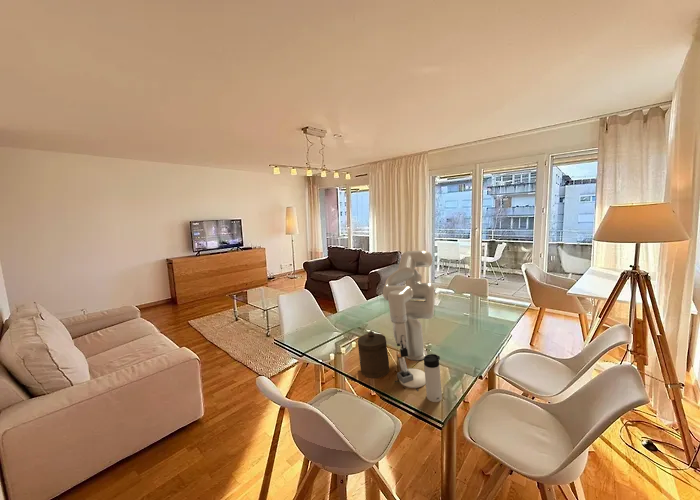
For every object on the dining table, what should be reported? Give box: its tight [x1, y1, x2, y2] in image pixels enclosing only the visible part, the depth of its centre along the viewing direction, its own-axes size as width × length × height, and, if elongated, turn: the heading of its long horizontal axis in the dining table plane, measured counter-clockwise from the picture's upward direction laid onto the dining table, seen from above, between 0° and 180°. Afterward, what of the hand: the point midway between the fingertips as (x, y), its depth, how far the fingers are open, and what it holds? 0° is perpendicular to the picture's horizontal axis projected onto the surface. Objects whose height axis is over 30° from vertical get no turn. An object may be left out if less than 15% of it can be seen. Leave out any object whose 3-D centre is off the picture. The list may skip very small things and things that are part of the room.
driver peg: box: [396, 353, 409, 377], centre depth 134 cm, size 3×3×11 cm
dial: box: [396, 368, 426, 389], centre depth 134 cm, size 13×13×4 cm
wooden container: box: [357, 330, 390, 379], centre depth 145 cm, size 15×15×22 cm
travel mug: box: [423, 353, 443, 403], centre depth 119 cm, size 6×7×20 cm
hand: (402, 350), depth 134 cm, fingers open, 9 cm apart
